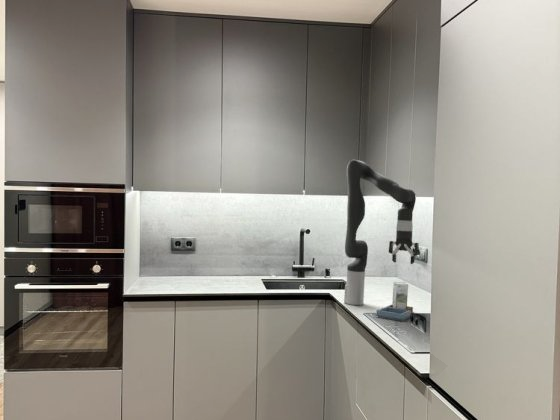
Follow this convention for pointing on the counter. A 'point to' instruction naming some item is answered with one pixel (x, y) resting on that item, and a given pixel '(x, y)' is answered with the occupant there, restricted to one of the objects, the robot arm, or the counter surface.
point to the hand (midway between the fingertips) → (403, 263)
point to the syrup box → (400, 295)
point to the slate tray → (394, 313)
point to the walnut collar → (404, 309)
